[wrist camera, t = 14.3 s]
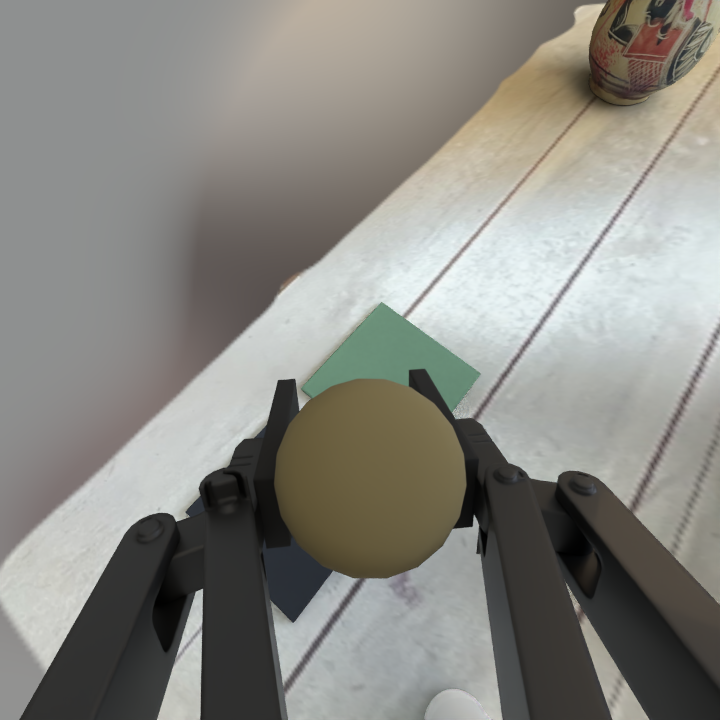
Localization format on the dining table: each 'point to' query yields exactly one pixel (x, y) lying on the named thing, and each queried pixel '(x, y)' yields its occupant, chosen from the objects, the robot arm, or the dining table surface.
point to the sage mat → (393, 358)
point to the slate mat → (286, 571)
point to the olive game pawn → (370, 478)
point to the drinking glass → (455, 707)
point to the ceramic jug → (648, 45)
